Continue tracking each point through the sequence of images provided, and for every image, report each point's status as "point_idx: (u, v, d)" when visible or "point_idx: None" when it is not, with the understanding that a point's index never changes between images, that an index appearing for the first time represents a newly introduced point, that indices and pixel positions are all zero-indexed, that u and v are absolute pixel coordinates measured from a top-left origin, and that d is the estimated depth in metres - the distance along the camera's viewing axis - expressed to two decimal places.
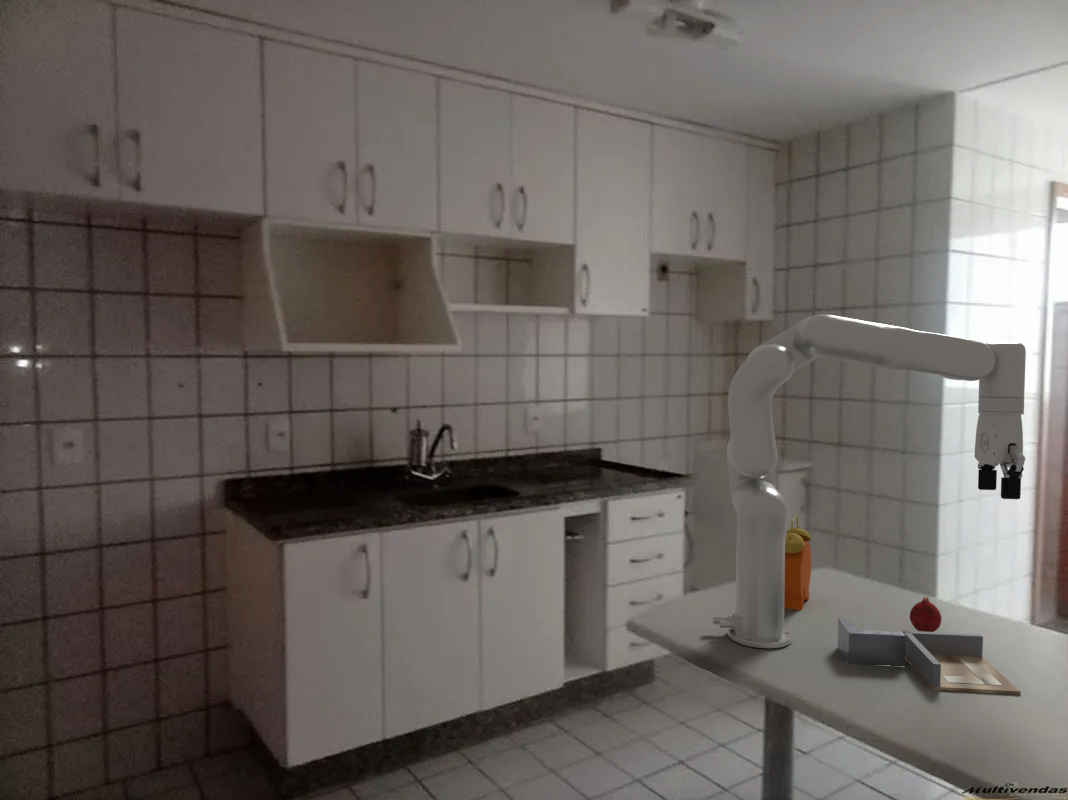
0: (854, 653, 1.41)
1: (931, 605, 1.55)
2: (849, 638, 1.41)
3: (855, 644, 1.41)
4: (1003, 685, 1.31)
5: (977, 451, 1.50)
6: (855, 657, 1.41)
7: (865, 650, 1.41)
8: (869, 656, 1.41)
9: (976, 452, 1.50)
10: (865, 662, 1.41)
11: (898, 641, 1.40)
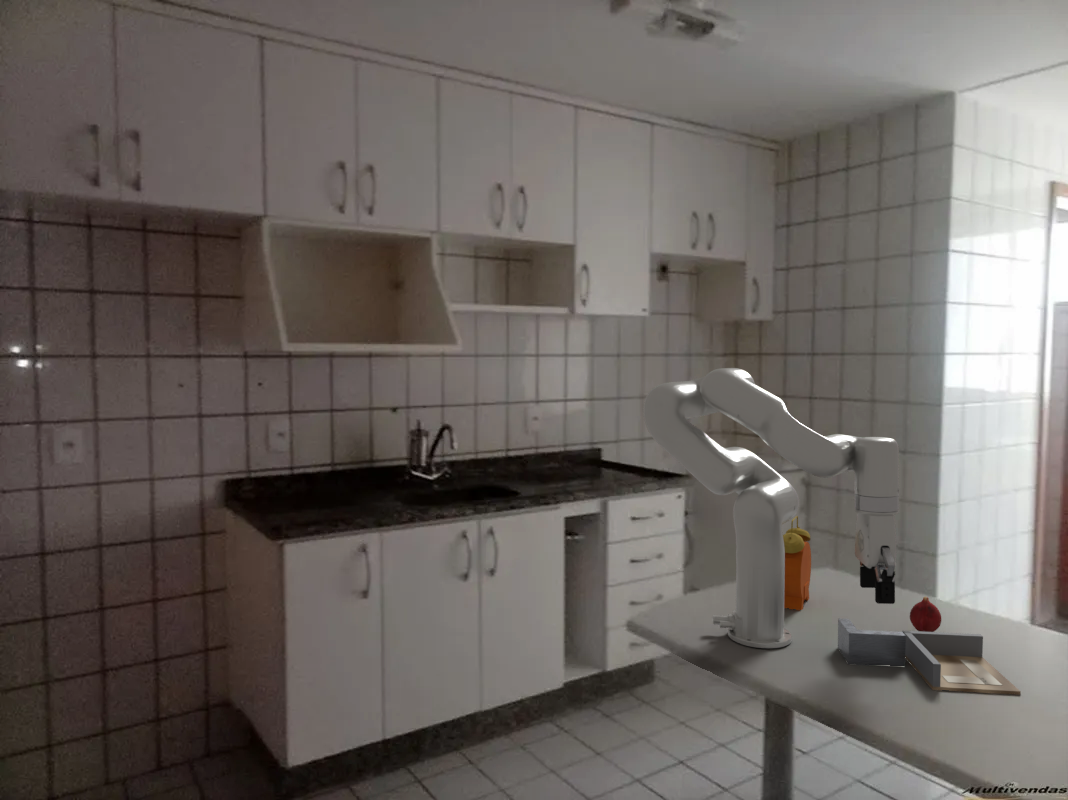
0: (854, 653, 1.41)
1: (931, 605, 1.55)
2: (849, 638, 1.41)
3: (855, 644, 1.41)
4: (1003, 685, 1.31)
5: (856, 548, 1.44)
6: (855, 657, 1.41)
7: (865, 650, 1.41)
8: (869, 656, 1.41)
9: (856, 549, 1.44)
10: (865, 662, 1.41)
11: (898, 641, 1.40)
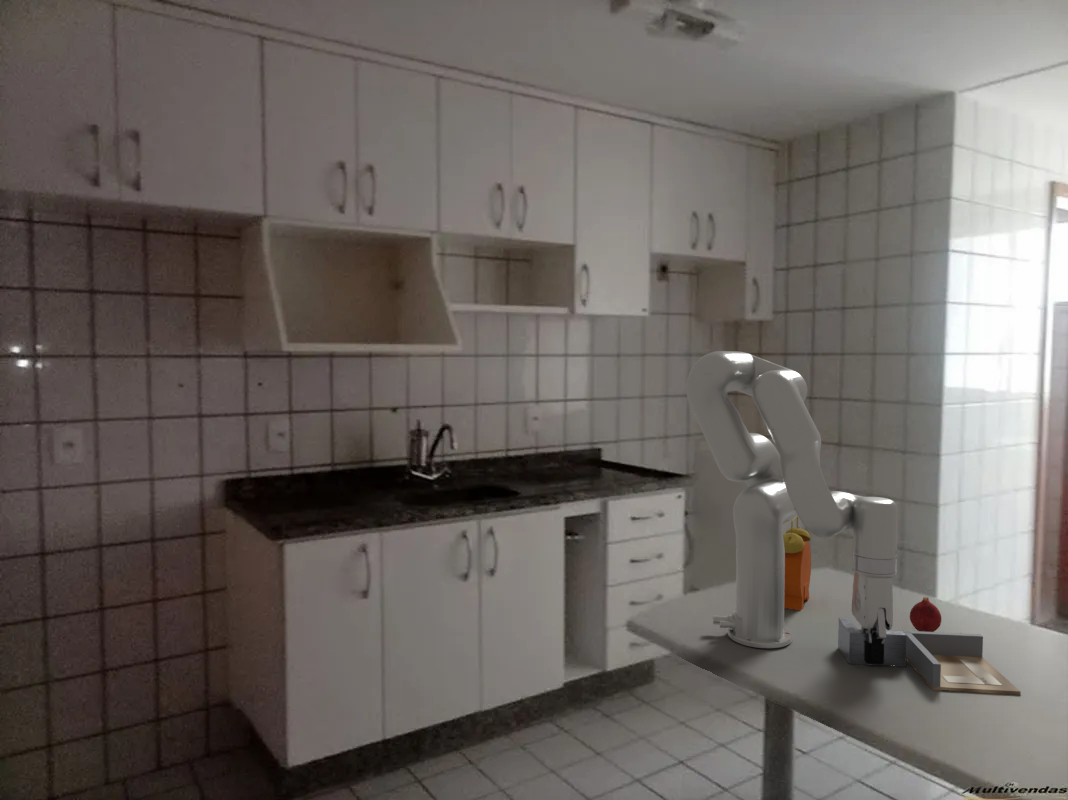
0: (855, 653, 1.41)
1: (931, 605, 1.55)
2: (850, 638, 1.41)
3: (856, 643, 1.41)
4: (1003, 685, 1.31)
5: (853, 606, 1.45)
6: (856, 657, 1.41)
7: None
8: None
9: (852, 607, 1.45)
10: None
11: (899, 641, 1.40)
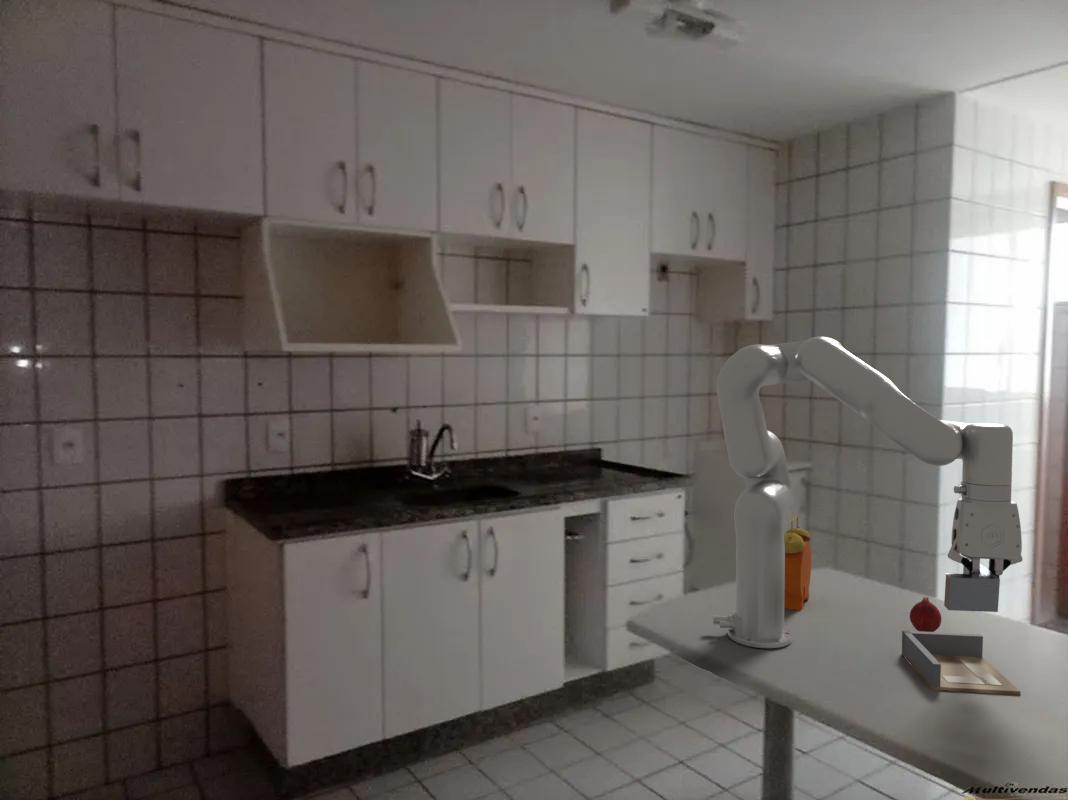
0: None
1: (931, 605, 1.55)
2: (998, 584, 1.31)
3: None
4: (1003, 685, 1.31)
5: (973, 547, 1.32)
6: None
7: None
8: None
9: (970, 548, 1.32)
10: None
11: None
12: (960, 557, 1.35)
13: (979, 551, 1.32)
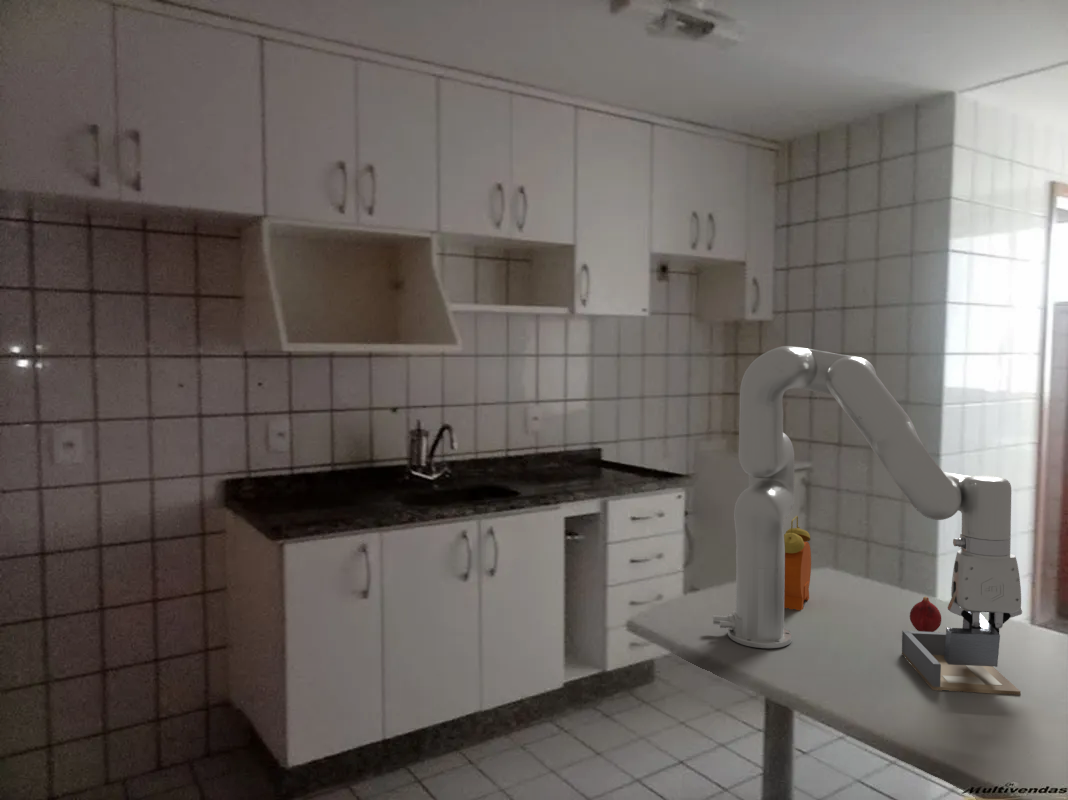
0: None
1: (931, 605, 1.55)
2: (998, 640, 1.31)
3: None
4: (1003, 685, 1.31)
5: (973, 601, 1.33)
6: None
7: None
8: None
9: (970, 602, 1.33)
10: None
11: None
12: (960, 610, 1.35)
13: (979, 605, 1.32)
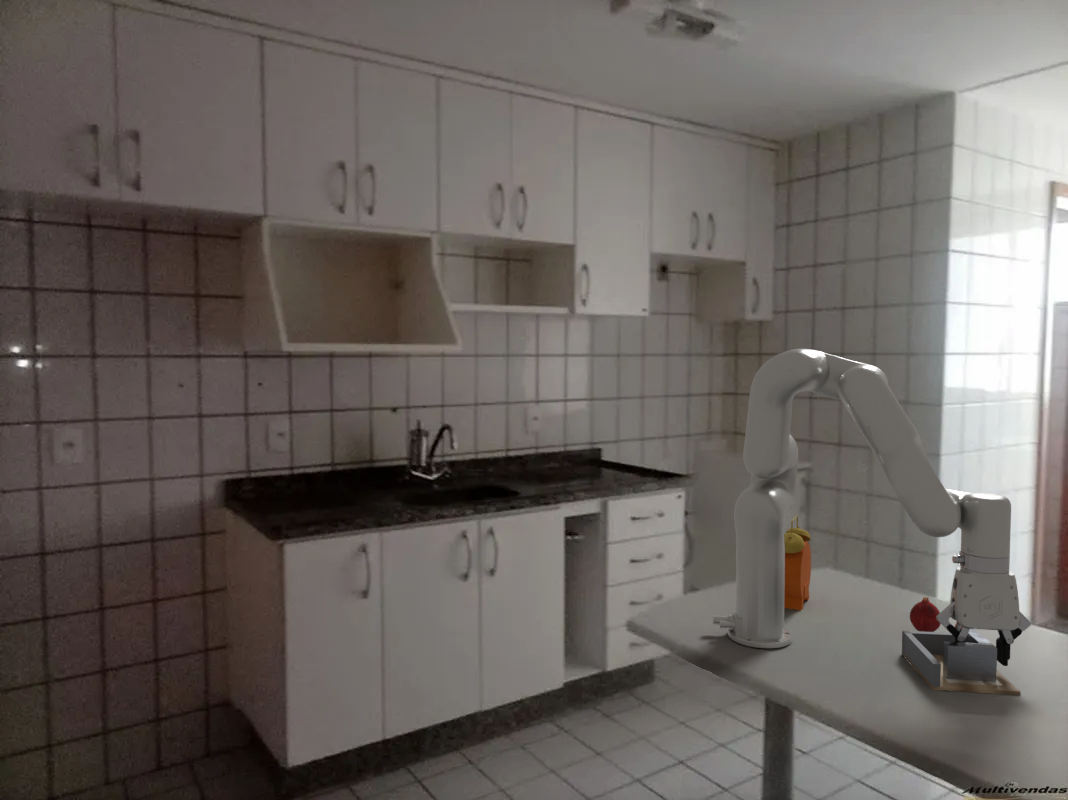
0: None
1: (931, 605, 1.55)
2: (996, 653, 1.32)
3: None
4: (1003, 685, 1.31)
5: (971, 618, 1.33)
6: None
7: None
8: None
9: (968, 619, 1.33)
10: None
11: None
12: (948, 622, 1.36)
13: (977, 622, 1.33)
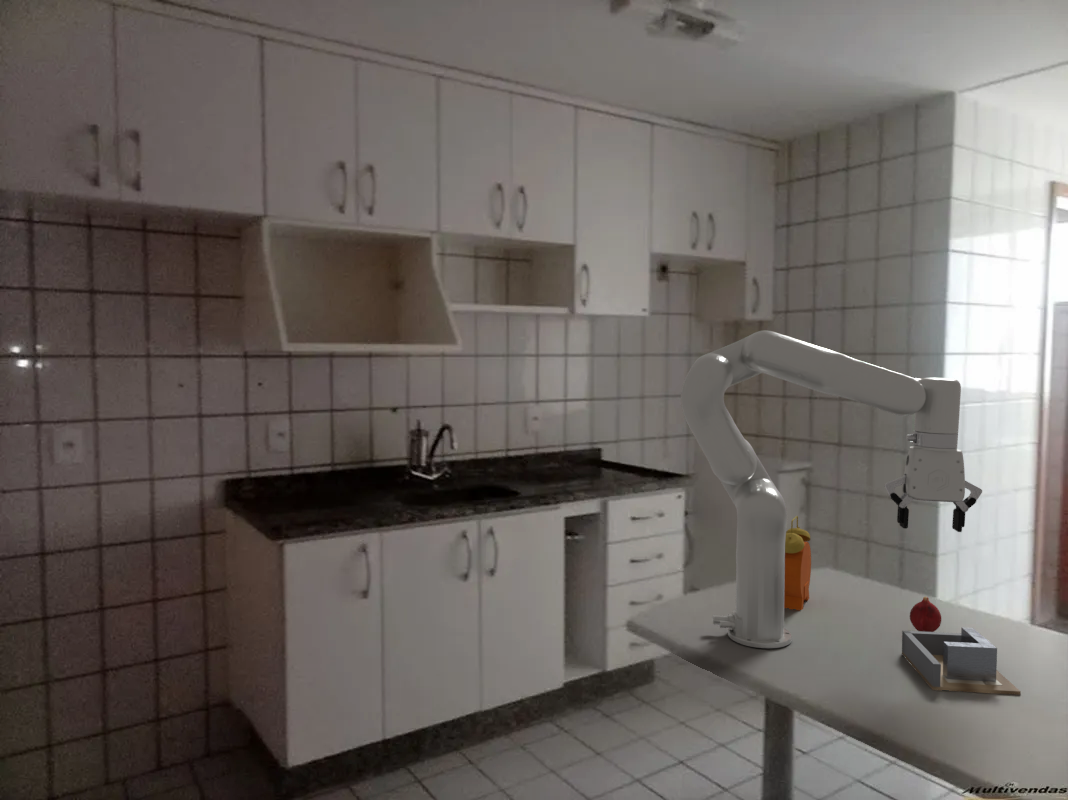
0: None
1: (931, 605, 1.55)
2: (996, 653, 1.32)
3: None
4: (1003, 685, 1.31)
5: (920, 490, 1.45)
6: None
7: None
8: None
9: (917, 491, 1.45)
10: None
11: None
12: (893, 490, 1.48)
13: (925, 494, 1.44)
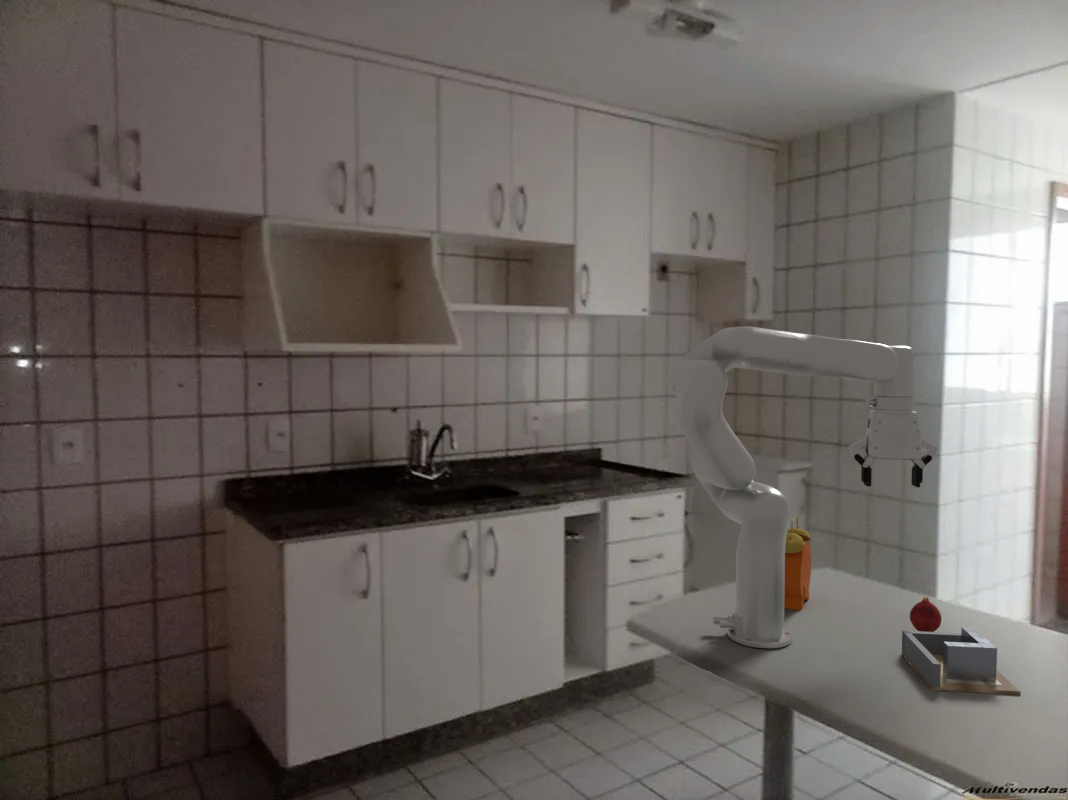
0: None
1: (931, 605, 1.55)
2: (996, 653, 1.32)
3: None
4: (1003, 685, 1.31)
5: (881, 449, 1.56)
6: None
7: None
8: None
9: (878, 451, 1.57)
10: None
11: None
12: (856, 451, 1.59)
13: (886, 453, 1.56)
